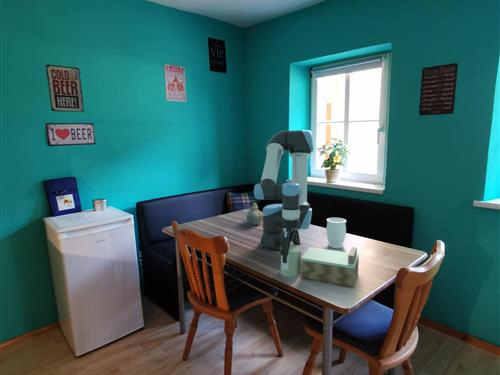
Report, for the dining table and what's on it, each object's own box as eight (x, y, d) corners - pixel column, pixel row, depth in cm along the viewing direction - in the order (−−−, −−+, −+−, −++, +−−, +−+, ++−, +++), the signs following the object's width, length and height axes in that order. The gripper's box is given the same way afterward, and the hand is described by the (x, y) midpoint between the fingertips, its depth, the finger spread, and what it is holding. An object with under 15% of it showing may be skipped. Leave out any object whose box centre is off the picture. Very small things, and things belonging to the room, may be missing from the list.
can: (278, 268, 147) (278, 244, 145) (298, 267, 148) (298, 243, 146) (282, 277, 138) (282, 251, 136) (303, 276, 139) (303, 250, 137)
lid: (300, 260, 136) (301, 250, 135) (309, 249, 148) (309, 239, 147) (354, 269, 126) (354, 258, 125) (358, 256, 139) (359, 246, 138)
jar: (346, 249, 169) (347, 222, 166) (326, 248, 171) (327, 222, 169) (344, 243, 179) (345, 217, 177) (325, 242, 181) (326, 216, 179)
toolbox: (300, 278, 137) (300, 261, 136) (309, 266, 150) (309, 250, 148) (353, 288, 128) (354, 269, 126) (358, 274, 140) (358, 257, 139)
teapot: (263, 228, 210) (263, 206, 208) (246, 228, 210) (245, 206, 208) (262, 219, 231) (262, 199, 229) (247, 219, 231) (246, 199, 229)
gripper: (289, 226, 126) (289, 276, 129) (306, 212, 148) (306, 255, 152) (272, 224, 129) (272, 272, 133) (291, 211, 152) (291, 253, 155)
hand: (290, 263), depth 142 cm, fingers open, 13 cm apart
